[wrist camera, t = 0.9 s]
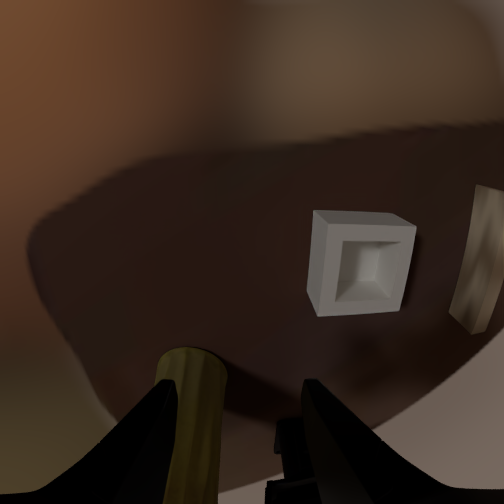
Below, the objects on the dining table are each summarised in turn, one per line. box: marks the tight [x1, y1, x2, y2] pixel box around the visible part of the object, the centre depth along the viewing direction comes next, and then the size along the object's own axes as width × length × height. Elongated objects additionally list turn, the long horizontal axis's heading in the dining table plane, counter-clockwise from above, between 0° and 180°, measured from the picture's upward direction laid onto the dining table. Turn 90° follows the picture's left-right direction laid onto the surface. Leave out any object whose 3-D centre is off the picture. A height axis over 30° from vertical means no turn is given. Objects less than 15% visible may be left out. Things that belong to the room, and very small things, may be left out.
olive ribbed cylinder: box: [154, 347, 228, 504], centre depth 18 cm, size 6×6×14 cm
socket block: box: [307, 210, 416, 316], centre depth 19 cm, size 6×6×4 cm
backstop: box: [449, 185, 504, 335], centre depth 20 cm, size 12×2×4 cm, turn 179°
